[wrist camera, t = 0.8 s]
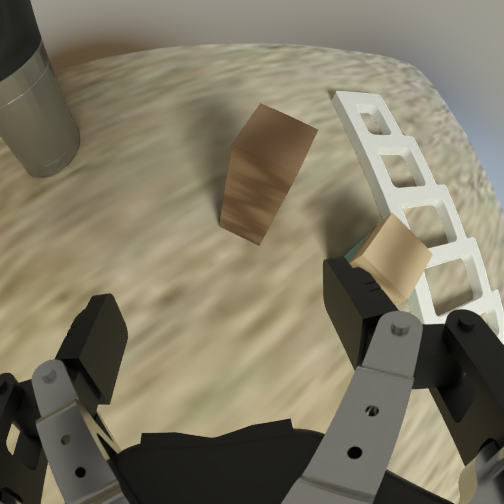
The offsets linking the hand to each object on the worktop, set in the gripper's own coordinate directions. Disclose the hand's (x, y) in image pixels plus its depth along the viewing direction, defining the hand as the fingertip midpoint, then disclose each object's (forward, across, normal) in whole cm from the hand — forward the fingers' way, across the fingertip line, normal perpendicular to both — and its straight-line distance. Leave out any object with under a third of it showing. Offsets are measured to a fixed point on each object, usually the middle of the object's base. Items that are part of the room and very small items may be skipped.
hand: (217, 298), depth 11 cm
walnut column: (+24, -2, +6) cm, 25 cm away
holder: (+27, -29, +12) cm, 41 cm away
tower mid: (+18, -16, +12) cm, 26 cm away
